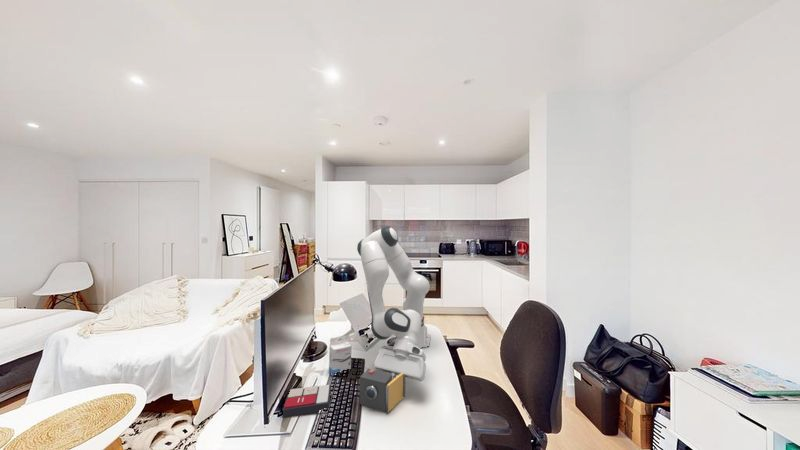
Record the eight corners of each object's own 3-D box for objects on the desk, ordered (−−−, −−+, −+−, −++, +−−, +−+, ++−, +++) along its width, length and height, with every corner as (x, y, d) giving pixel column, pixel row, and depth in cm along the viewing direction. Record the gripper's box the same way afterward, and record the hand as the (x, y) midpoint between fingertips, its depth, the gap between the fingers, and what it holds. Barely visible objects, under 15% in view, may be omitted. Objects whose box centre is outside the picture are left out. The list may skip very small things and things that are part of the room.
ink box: (332, 377, 112) (333, 342, 112) (328, 372, 116) (329, 338, 117) (351, 371, 117) (352, 338, 117) (347, 366, 121) (347, 334, 121)
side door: (401, 396, 99) (402, 371, 100) (405, 397, 99) (405, 373, 99) (384, 412, 90) (385, 385, 91) (388, 414, 90) (388, 387, 90)
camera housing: (367, 395, 100) (368, 367, 101) (391, 402, 97) (392, 372, 97) (357, 407, 93) (358, 377, 94) (383, 415, 90) (383, 383, 90)
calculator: (289, 388, 99) (330, 382, 102) (289, 399, 99) (331, 393, 102) (281, 407, 88) (328, 400, 91) (282, 420, 88) (329, 413, 91)
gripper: (378, 341, 109) (366, 378, 100) (426, 351, 101) (417, 391, 92) (383, 348, 113) (371, 383, 104) (429, 358, 105) (421, 397, 96)
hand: (393, 387), depth 98 cm, fingers closed
